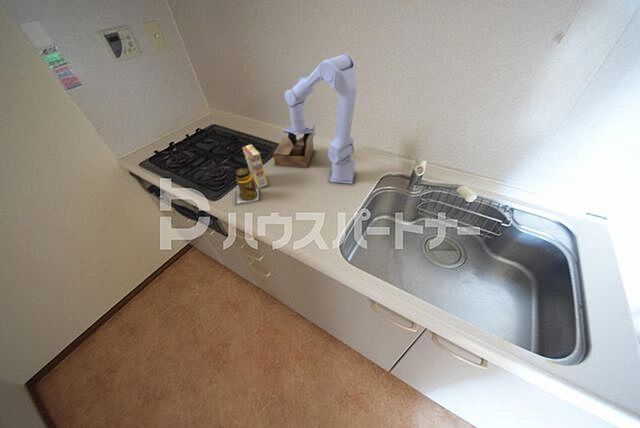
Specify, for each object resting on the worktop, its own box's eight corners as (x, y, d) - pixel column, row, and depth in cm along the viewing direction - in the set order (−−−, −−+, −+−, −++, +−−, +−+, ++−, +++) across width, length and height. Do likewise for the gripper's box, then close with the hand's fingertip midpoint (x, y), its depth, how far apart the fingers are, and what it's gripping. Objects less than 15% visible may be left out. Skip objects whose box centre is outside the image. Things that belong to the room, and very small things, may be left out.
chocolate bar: (309, 146, 115) (308, 138, 112) (301, 158, 107) (300, 149, 104) (301, 145, 116) (300, 137, 113) (292, 156, 108) (291, 148, 105)
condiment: (259, 200, 94) (251, 175, 85) (237, 204, 93) (227, 179, 84) (258, 189, 99) (251, 164, 90) (237, 192, 98) (228, 168, 89)
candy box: (268, 184, 100) (260, 152, 90) (259, 188, 99) (249, 156, 88) (260, 175, 106) (251, 143, 95) (251, 178, 104) (241, 146, 94)
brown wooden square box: (313, 151, 119) (312, 139, 114) (306, 168, 108) (305, 156, 104) (285, 149, 121) (283, 137, 117) (275, 165, 111) (272, 153, 107)
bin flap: (312, 139, 114) (313, 139, 114) (304, 156, 104) (305, 156, 104) (314, 125, 109) (314, 125, 109) (306, 141, 99) (307, 141, 99)
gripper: (278, 122, 99) (283, 151, 109) (311, 124, 97) (313, 154, 106) (283, 115, 104) (288, 143, 114) (315, 117, 101) (317, 146, 111)
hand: (300, 148), depth 110 cm, fingers closed on chocolate bar, 4 cm apart
